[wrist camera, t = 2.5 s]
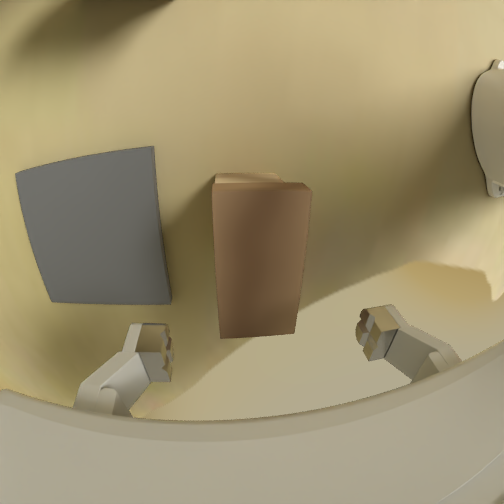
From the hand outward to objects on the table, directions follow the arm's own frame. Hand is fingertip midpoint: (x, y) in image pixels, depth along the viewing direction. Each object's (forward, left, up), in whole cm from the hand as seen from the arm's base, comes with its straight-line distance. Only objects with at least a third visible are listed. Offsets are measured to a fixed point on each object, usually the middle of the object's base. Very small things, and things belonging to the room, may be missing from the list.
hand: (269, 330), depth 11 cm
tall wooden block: (0, 0, -13) cm, 13 cm away
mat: (+14, +1, -13) cm, 19 cm away
